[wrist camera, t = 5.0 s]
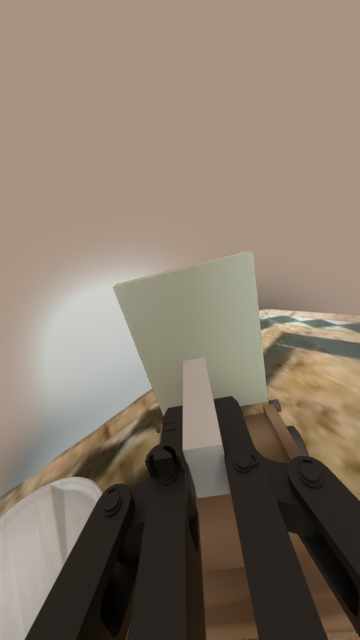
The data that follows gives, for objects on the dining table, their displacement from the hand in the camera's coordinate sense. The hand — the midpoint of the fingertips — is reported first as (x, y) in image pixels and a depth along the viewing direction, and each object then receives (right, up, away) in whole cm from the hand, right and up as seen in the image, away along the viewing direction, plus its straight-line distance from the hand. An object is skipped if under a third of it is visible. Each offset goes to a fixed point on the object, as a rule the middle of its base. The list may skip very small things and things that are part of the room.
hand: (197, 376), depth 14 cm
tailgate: (+3, -6, +9) cm, 11 cm away
